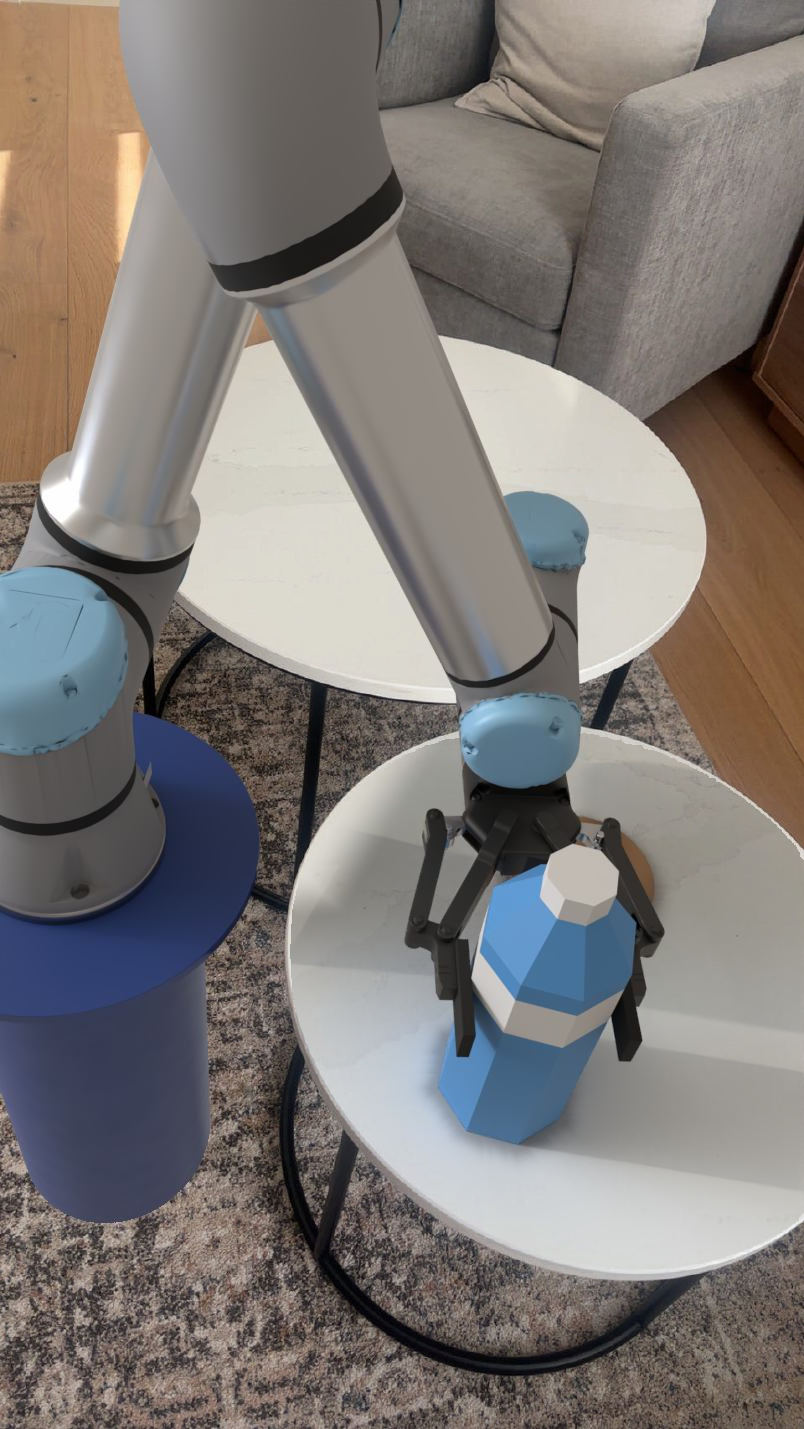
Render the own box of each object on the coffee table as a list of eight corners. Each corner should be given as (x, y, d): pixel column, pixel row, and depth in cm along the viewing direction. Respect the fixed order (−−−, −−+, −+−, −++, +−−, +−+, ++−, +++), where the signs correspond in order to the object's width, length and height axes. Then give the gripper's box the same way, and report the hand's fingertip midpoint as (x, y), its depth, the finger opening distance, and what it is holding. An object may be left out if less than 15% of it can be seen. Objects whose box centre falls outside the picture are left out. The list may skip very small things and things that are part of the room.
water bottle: (547, 1013, 82) (636, 802, 64) (582, 1135, 75) (691, 940, 57) (425, 1026, 80) (482, 812, 62) (451, 1153, 73) (522, 956, 56)
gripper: (643, 804, 84) (707, 1081, 69) (359, 789, 82) (359, 1072, 66) (671, 738, 79) (748, 1023, 63) (368, 721, 77) (370, 1011, 61)
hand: (548, 1048), depth 65 cm, fingers closed on water bottle, 9 cm apart
